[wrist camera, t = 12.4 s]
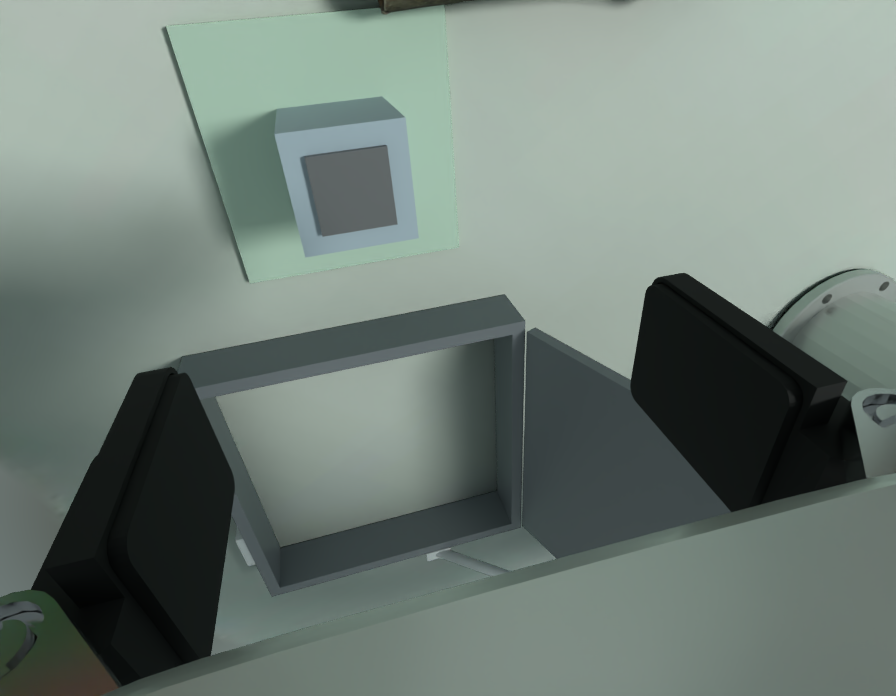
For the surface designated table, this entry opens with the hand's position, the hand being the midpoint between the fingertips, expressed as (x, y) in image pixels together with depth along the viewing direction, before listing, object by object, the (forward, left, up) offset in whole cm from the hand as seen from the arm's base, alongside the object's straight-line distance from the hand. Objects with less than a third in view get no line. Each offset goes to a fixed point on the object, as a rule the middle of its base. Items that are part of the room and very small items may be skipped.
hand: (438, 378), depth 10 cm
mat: (0, 0, -19) cm, 19 cm away
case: (0, +20, -19) cm, 28 cm away
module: (0, 0, -19) cm, 19 cm away
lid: (-12, +20, -8) cm, 24 cm away
